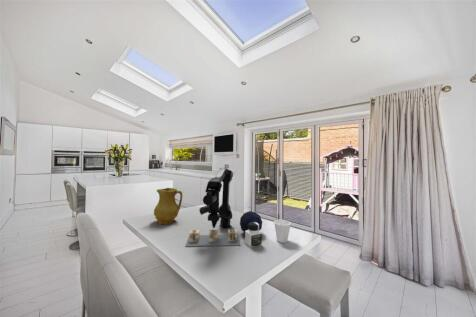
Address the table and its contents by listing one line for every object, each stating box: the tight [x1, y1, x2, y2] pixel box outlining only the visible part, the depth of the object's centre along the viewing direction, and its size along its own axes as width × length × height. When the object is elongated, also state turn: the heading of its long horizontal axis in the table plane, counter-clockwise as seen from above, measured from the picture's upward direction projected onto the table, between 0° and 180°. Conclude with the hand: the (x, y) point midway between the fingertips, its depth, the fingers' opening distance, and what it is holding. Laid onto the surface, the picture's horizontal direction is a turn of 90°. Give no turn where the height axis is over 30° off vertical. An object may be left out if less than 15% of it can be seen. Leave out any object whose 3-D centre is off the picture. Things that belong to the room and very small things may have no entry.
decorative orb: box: [239, 210, 263, 234], centre depth 124 cm, size 14×15×15 cm
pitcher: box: [153, 187, 183, 225], centre depth 143 cm, size 17×19×25 cm
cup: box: [273, 219, 292, 244], centre depth 114 cm, size 10×10×11 cm
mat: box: [185, 234, 241, 248], centre depth 112 cm, size 30×14×1 cm, turn 95°
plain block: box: [208, 229, 219, 242], centre depth 112 cm, size 5×5×5 cm
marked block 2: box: [227, 228, 238, 241], centre depth 113 cm, size 5×5×5 cm
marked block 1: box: [188, 229, 200, 242], centre depth 111 cm, size 5×5×5 cm
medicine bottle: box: [244, 222, 263, 248], centre depth 109 cm, size 7×7×12 cm
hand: (213, 227), depth 112 cm, fingers closed
